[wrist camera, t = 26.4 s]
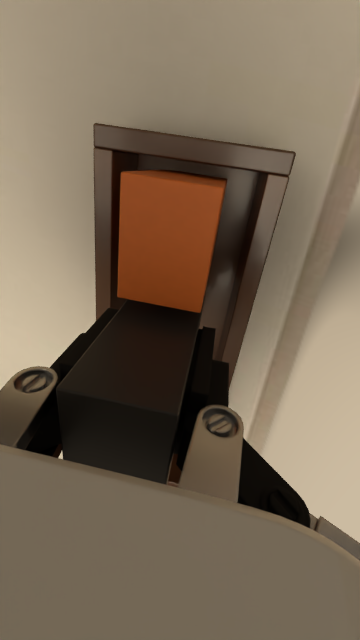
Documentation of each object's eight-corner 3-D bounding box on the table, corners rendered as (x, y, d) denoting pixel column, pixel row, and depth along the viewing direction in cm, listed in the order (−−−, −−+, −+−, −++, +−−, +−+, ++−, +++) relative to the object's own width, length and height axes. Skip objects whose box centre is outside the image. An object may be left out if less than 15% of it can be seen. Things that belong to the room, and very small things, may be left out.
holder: (127, 133, 14) (92, 122, 11) (280, 155, 14) (296, 151, 10) (117, 427, 25) (98, 471, 21) (203, 447, 24) (198, 495, 21)
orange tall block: (227, 178, 14) (224, 187, 8) (212, 257, 16) (200, 313, 10) (168, 169, 14) (120, 171, 8) (160, 248, 16) (116, 297, 10)
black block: (204, 296, 13) (178, 415, 7) (191, 367, 15) (161, 511, 8) (139, 283, 13) (54, 388, 7) (134, 355, 15) (65, 487, 9)
